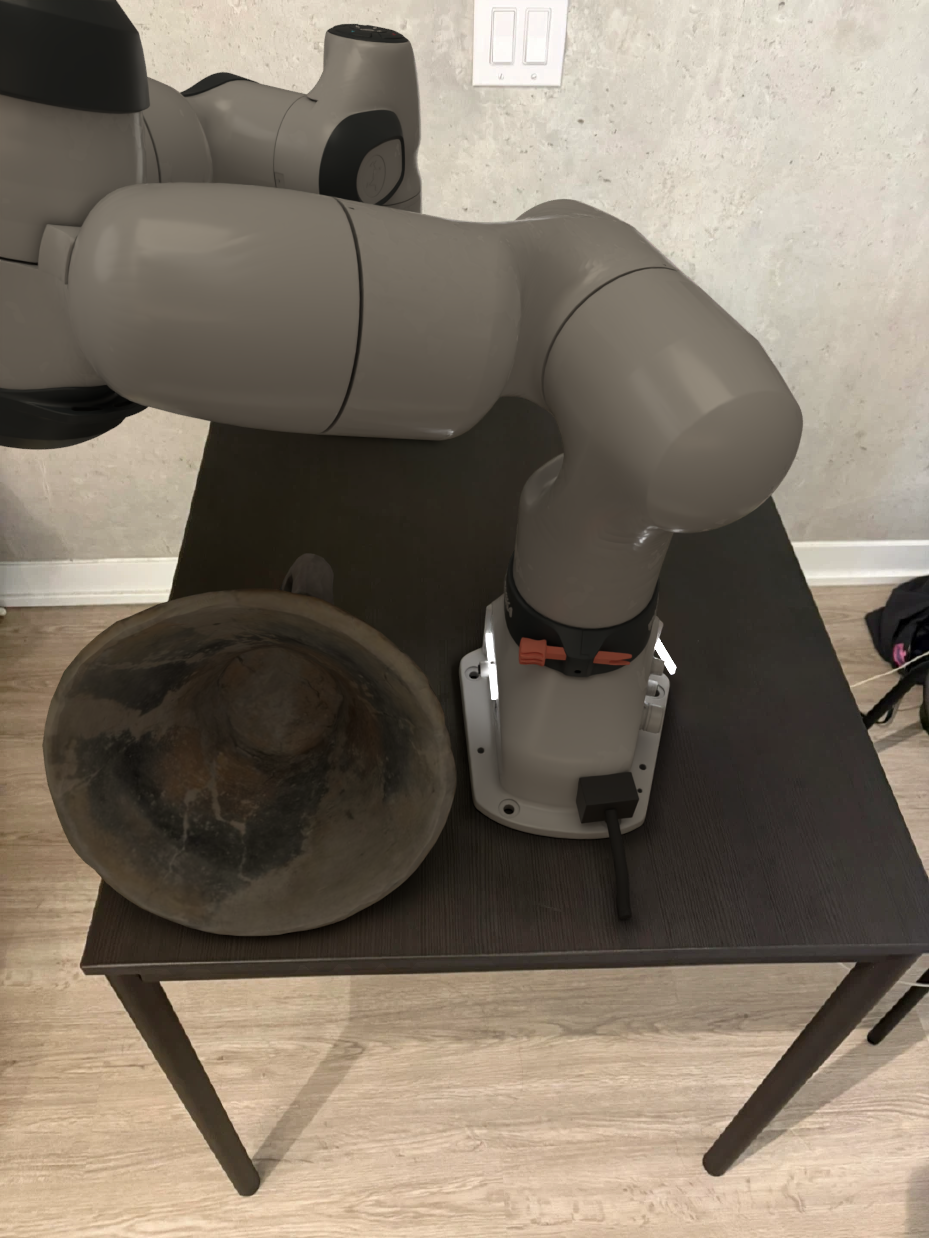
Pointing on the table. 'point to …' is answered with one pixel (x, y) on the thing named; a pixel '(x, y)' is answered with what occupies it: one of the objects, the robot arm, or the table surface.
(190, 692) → the bowl
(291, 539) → the table surface
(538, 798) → the robot arm
